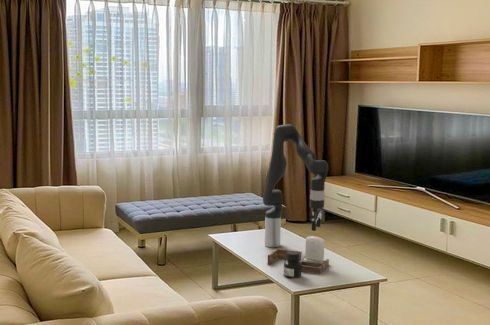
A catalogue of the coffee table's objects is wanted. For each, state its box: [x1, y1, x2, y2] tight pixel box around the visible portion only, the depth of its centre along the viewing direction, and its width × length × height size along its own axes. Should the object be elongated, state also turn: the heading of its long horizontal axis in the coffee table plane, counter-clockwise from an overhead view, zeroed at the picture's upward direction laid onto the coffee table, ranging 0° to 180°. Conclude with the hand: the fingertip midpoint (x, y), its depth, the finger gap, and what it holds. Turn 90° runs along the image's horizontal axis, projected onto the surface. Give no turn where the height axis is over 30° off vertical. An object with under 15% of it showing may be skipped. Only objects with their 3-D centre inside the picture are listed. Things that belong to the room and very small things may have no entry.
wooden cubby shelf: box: [267, 247, 302, 265], centre depth 318 cm, size 14×14×5 cm
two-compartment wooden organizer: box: [300, 256, 330, 275], centre depth 311 cm, size 17×13×3 cm
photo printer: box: [304, 235, 326, 261], centre depth 313 cm, size 10×4×12 cm, turn 58°
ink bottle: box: [283, 250, 303, 279], centre depth 297 cm, size 10×9×12 cm
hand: (316, 228), depth 312 cm, fingers open, 8 cm apart
